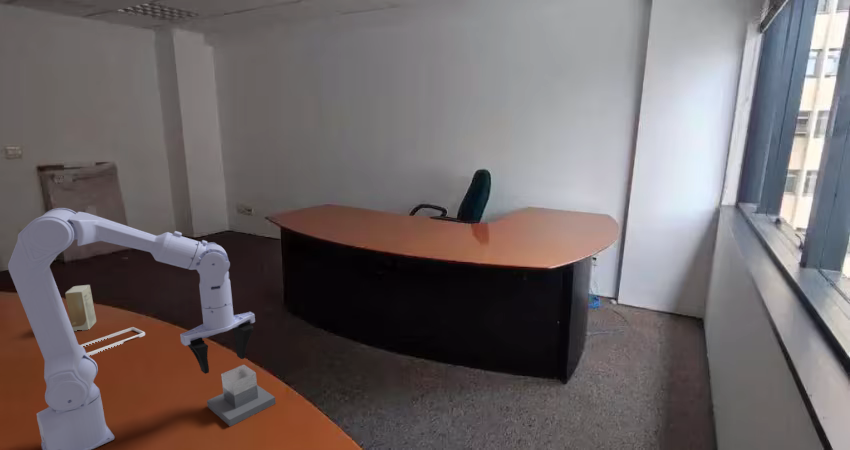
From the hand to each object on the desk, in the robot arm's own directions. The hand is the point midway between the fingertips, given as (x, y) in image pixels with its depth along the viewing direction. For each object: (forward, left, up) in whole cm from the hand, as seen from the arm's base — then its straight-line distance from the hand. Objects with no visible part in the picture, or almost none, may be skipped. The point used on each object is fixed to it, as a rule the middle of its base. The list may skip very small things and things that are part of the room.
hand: (223, 364), depth 94 cm
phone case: (-7, +53, -10) cm, 55 cm away
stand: (+2, -3, -9) cm, 10 cm away
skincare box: (-9, +71, -10) cm, 73 cm away
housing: (+2, -3, -8) cm, 8 cm away
